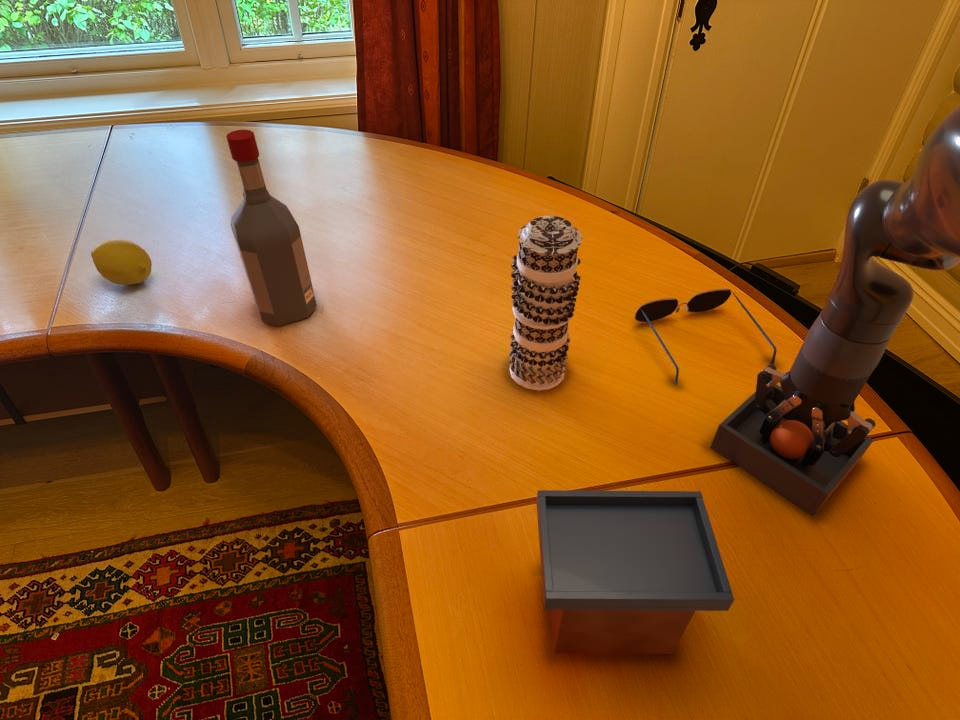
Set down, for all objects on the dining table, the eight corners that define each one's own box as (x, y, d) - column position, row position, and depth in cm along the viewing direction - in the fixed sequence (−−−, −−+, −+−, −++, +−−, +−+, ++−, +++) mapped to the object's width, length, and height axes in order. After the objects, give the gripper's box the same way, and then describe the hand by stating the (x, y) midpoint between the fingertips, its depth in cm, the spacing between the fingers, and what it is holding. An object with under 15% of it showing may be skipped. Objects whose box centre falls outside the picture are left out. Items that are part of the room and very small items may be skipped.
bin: (858, 462, 79) (874, 439, 76) (813, 516, 73) (828, 494, 70) (758, 402, 87) (768, 379, 84) (709, 446, 81) (719, 424, 78)
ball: (812, 452, 80) (827, 428, 76) (793, 473, 77) (808, 448, 74) (776, 431, 83) (789, 406, 79) (757, 450, 80) (770, 425, 77)
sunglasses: (722, 307, 104) (732, 285, 100) (770, 372, 95) (783, 351, 91) (630, 324, 100) (637, 302, 96) (671, 393, 91) (680, 372, 87)
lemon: (169, 278, 109) (153, 240, 104) (131, 300, 104) (112, 261, 99) (130, 261, 113) (113, 223, 108) (92, 282, 109) (72, 243, 103)
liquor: (266, 331, 99) (211, 154, 78) (253, 301, 104) (199, 129, 84) (320, 315, 102) (281, 140, 81) (305, 287, 108) (265, 117, 87)
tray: (695, 503, 61) (700, 491, 59) (727, 611, 53) (734, 600, 51) (536, 502, 61) (537, 489, 59) (544, 609, 53) (545, 598, 51)
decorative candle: (506, 349, 95) (512, 206, 78) (565, 351, 95) (584, 207, 78) (506, 391, 89) (512, 244, 72) (569, 392, 89) (591, 246, 72)
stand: (654, 571, 68) (678, 511, 60) (672, 654, 62) (701, 599, 53) (547, 570, 68) (557, 511, 60) (554, 653, 62) (565, 598, 53)
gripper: (762, 337, 70) (722, 432, 82) (890, 405, 62) (825, 500, 74) (794, 310, 74) (751, 405, 85) (919, 371, 66) (853, 467, 78)
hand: (786, 449), depth 80 cm, fingers closed on ball, 5 cm apart
